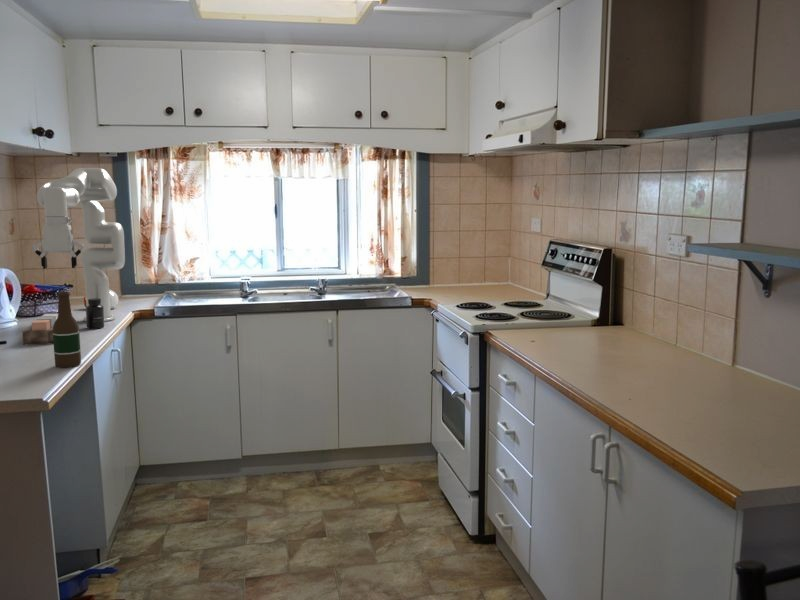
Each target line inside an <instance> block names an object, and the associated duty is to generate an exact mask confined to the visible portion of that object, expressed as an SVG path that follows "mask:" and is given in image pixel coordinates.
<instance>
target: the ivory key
mask: <svg viewBox="0 0 800 600" xmlns="http://www.w3.org/2000/svg"><path fill="white" fill-rule="evenodd" d="M41 317H54V319H55V321H56V320H57V318H58V313H44V314H43V315H41Z"/></svg>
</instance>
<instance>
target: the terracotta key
mask: <svg viewBox="0 0 800 600" xmlns="http://www.w3.org/2000/svg"><path fill="white" fill-rule="evenodd" d="M30 325H32V331H37V330H49V329H50V320H37V319H36V320H33V321H32V322H31V324H30Z"/></svg>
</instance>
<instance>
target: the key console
mask: <svg viewBox="0 0 800 600" xmlns="http://www.w3.org/2000/svg"><path fill="white" fill-rule="evenodd" d="M21 332H22V345H23V346H24V345H25V344H28V345H44V344H45V345H47V344H46V343H53V327H50V329H49V330H37V331H32V324H30V326H28V327H26V328H25V329H24V330H22V331H21ZM53 344H54V343H53Z"/></svg>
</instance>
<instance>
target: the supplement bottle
mask: <svg viewBox="0 0 800 600" xmlns="http://www.w3.org/2000/svg"><path fill="white" fill-rule="evenodd" d="M100 303H101V299H99V298H93V299H88V304H89V305H88V306H87V307H85V317H86V321H85V323H86V328H87V329H88V328H89V330H98V329H99V330H100V329H103V328H105V321H104V307H103V306H102V305H100Z"/></svg>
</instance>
